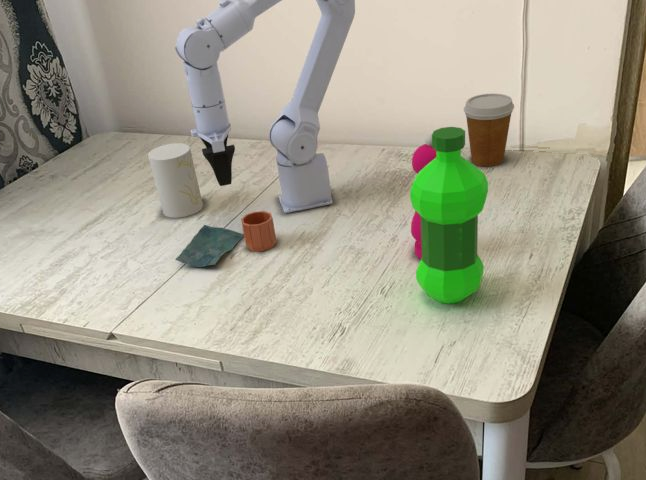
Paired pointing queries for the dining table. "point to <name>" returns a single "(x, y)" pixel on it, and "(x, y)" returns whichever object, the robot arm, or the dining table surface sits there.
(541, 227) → the dining table surface
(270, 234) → the faceted terracotta tumbler
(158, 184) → the white cylinder
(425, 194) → the plastic bottle
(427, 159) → the pepper mill
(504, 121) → the disposable coffee cup
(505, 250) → the dining table surface
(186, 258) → the terrain model
